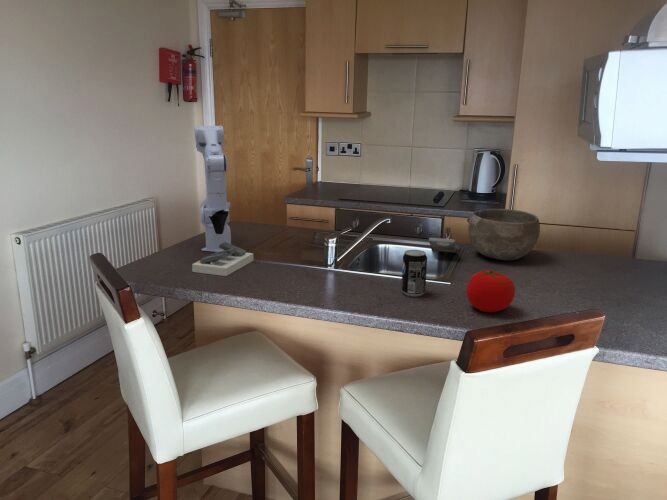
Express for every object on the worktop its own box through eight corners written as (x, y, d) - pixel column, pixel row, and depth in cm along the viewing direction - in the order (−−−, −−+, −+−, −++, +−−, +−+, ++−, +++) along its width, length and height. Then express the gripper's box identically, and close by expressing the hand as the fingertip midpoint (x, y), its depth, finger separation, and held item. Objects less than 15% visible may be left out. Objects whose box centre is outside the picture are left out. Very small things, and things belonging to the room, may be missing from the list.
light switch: (456, 247, 197) (455, 236, 183) (454, 263, 196) (453, 253, 182) (432, 245, 199) (429, 234, 186) (430, 261, 198) (427, 251, 184)
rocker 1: (207, 260, 176) (205, 256, 176) (227, 255, 173) (226, 252, 172) (200, 263, 172) (199, 259, 172) (221, 258, 169) (220, 255, 169)
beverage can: (407, 287, 159) (408, 248, 156) (428, 292, 156) (431, 251, 153) (397, 294, 154) (399, 253, 151) (419, 299, 151) (421, 257, 147)
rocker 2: (216, 255, 181) (215, 252, 181) (236, 251, 178) (235, 247, 177) (210, 258, 177) (209, 255, 177) (230, 254, 174) (229, 250, 174)
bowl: (468, 265, 182) (472, 220, 178) (461, 246, 205) (463, 206, 201) (544, 268, 179) (549, 223, 175) (527, 248, 202) (532, 208, 198)
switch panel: (222, 256, 189) (221, 247, 188) (253, 260, 185) (253, 251, 184) (192, 271, 172) (191, 261, 171) (226, 276, 168) (225, 265, 168)
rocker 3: (224, 245, 185) (225, 241, 185) (245, 253, 183) (245, 250, 183) (219, 247, 182) (219, 244, 181) (239, 256, 180) (240, 253, 180)
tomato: (466, 299, 151) (469, 262, 148) (512, 304, 147) (516, 267, 144) (463, 314, 140) (466, 275, 137) (513, 320, 137) (517, 280, 134)
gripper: (215, 188, 184) (217, 227, 187) (195, 195, 170) (197, 238, 174) (235, 189, 182) (236, 229, 186) (216, 196, 168) (218, 239, 172)
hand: (219, 233), depth 180 cm, fingers closed
